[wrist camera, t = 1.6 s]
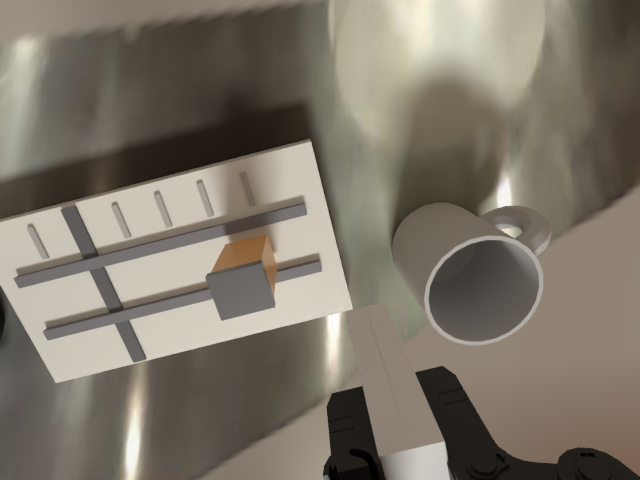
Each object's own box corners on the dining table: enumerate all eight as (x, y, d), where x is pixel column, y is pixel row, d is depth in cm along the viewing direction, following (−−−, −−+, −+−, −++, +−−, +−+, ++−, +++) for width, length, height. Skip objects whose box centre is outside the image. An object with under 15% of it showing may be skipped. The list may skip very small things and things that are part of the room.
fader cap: (235, 278, 28) (221, 320, 23) (223, 243, 27) (205, 277, 22) (279, 268, 28) (275, 307, 23) (268, 231, 27) (261, 263, 22)
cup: (373, 234, 31) (401, 281, 23) (483, 161, 30) (556, 182, 22) (418, 300, 34) (459, 365, 25) (523, 234, 32) (604, 279, 24)
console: (72, 363, 34) (52, 387, 31) (-5, 220, 29) (-37, 232, 26) (348, 294, 33) (353, 312, 30) (309, 138, 29) (311, 141, 26)
